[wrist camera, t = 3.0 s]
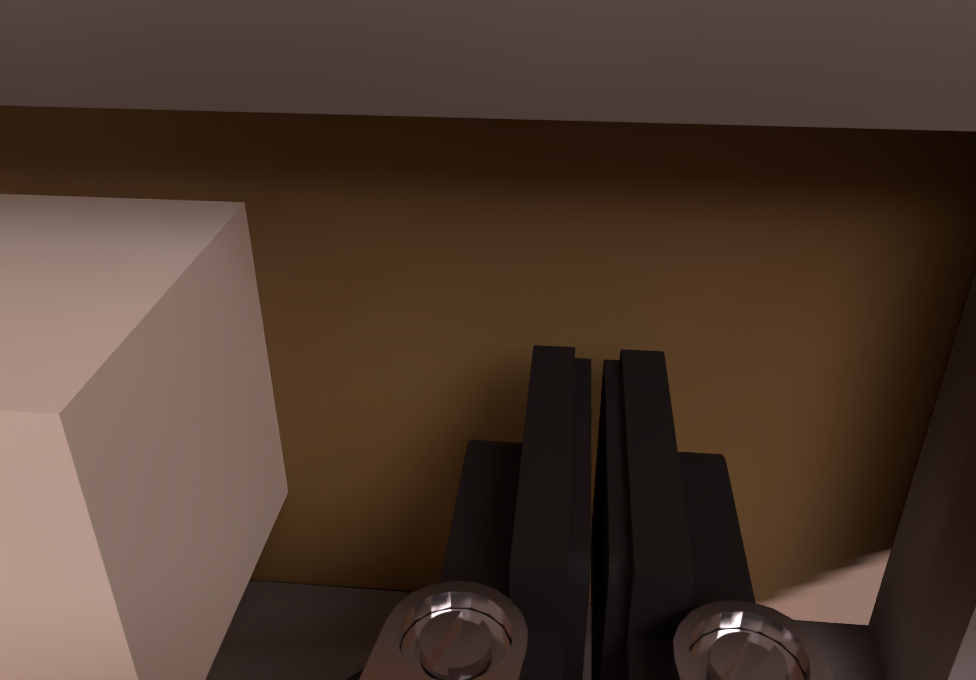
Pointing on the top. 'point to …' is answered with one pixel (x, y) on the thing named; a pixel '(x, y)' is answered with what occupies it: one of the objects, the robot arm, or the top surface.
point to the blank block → (129, 435)
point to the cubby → (572, 97)
